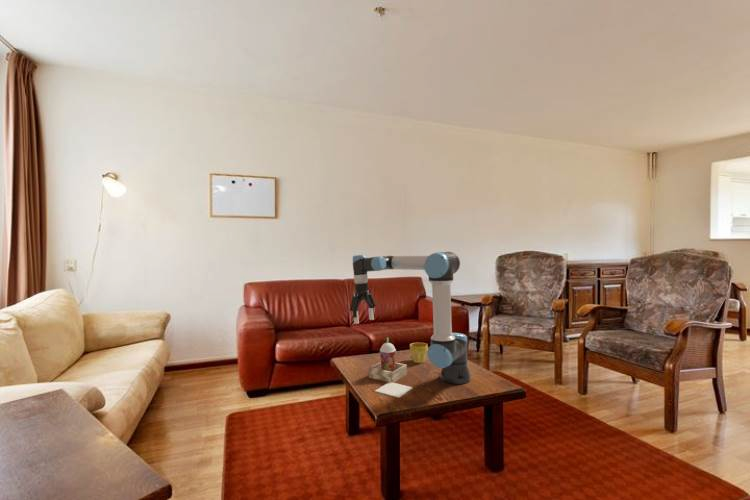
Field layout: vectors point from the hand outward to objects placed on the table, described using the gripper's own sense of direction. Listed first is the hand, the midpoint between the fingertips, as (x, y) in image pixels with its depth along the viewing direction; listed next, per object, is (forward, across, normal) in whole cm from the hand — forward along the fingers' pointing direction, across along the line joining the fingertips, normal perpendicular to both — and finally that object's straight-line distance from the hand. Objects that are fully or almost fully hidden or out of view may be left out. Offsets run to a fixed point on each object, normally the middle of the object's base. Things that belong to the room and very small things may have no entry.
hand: (364, 321), depth 204 cm
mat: (+30, +14, +26) cm, 42 cm away
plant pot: (+27, -28, +16) cm, 42 cm away
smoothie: (+28, +1, +13) cm, 31 cm away
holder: (+28, +1, +13) cm, 31 cm away
